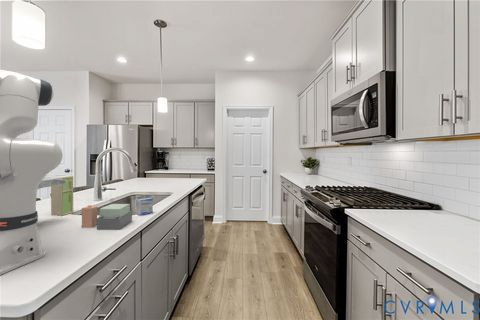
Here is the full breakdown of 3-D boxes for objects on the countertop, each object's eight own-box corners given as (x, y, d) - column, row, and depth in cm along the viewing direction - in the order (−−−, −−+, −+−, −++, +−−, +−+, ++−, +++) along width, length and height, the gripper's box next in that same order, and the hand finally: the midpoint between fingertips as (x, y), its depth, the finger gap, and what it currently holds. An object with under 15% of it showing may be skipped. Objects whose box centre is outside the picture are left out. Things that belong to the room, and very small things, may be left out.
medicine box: (140, 215, 135) (140, 200, 135) (135, 214, 138) (135, 199, 138) (152, 213, 142) (153, 198, 141) (148, 212, 144) (148, 197, 144)
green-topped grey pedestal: (119, 229, 111) (119, 209, 110) (96, 229, 110) (96, 209, 110) (131, 221, 125) (132, 203, 124) (111, 220, 124) (112, 203, 124)
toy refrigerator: (61, 216, 132) (61, 177, 131) (50, 215, 133) (50, 176, 133) (74, 212, 139) (74, 175, 139) (63, 211, 141) (63, 175, 140)
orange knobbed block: (91, 227, 113) (91, 206, 113) (81, 227, 113) (81, 206, 113) (97, 224, 118) (97, 204, 117) (87, 224, 117) (87, 204, 117)
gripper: (7, 178, 103) (41, 178, 104) (44, 174, 124) (72, 174, 124) (7, 193, 104) (41, 193, 104) (45, 186, 124) (72, 186, 124)
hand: (58, 183), depth 114 cm, fingers open, 8 cm apart
